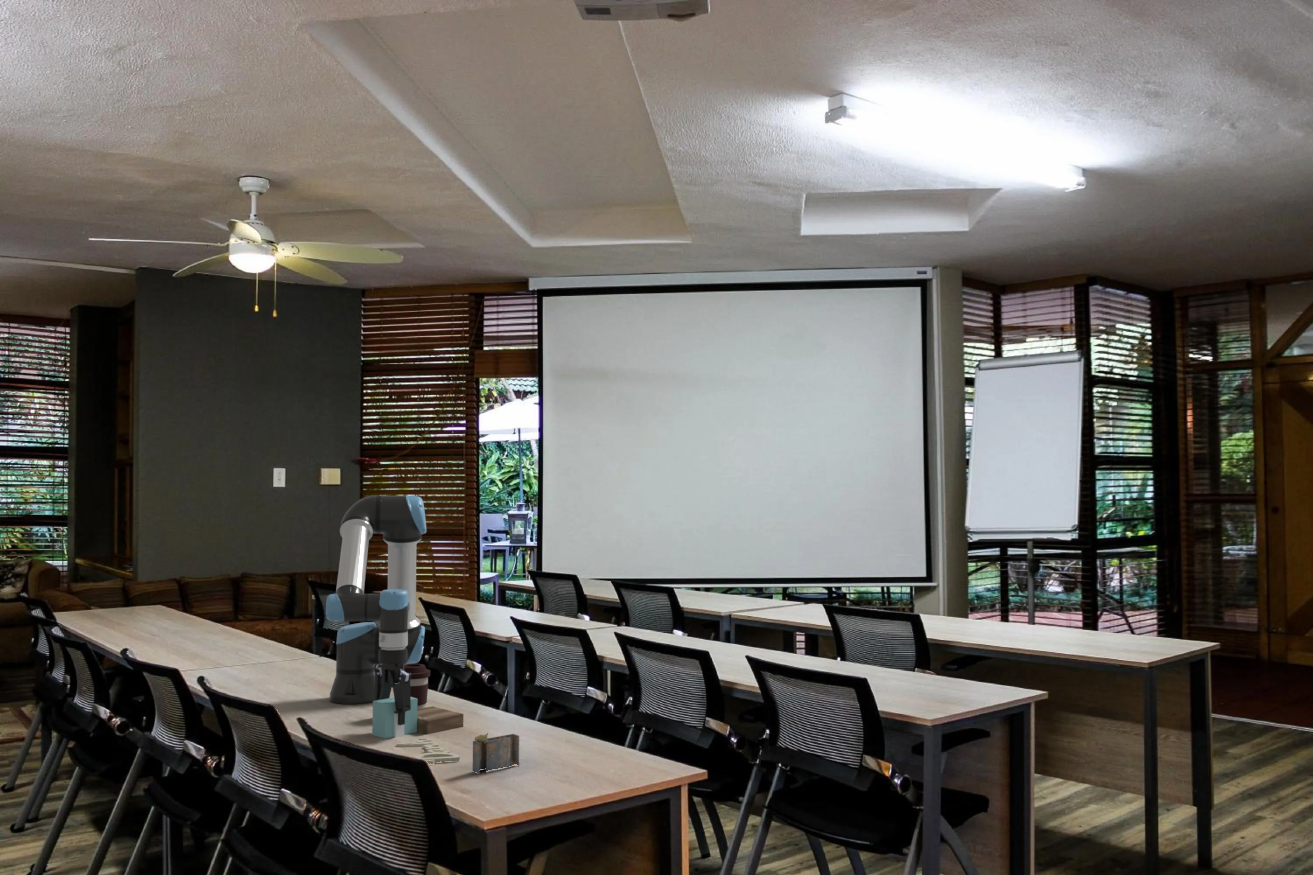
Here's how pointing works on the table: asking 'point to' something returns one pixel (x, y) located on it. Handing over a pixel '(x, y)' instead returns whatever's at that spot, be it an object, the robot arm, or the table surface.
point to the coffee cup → (418, 683)
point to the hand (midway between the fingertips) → (391, 734)
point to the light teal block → (392, 718)
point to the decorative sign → (431, 751)
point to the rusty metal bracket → (495, 752)
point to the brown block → (437, 720)
